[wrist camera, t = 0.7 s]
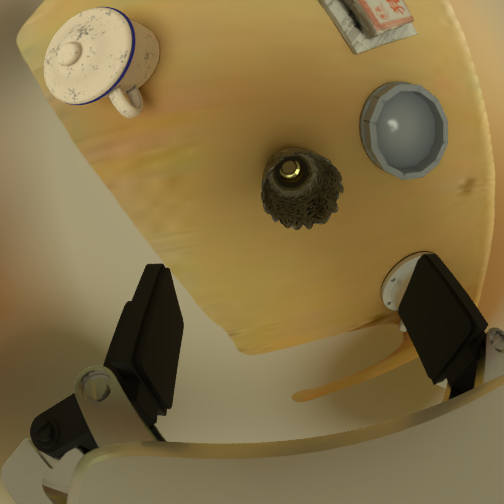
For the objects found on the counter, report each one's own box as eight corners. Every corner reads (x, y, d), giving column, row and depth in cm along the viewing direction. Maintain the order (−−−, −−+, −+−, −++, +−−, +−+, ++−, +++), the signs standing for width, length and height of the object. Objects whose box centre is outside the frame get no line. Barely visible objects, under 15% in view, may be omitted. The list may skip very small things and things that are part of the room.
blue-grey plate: (436, 169, 30) (447, 175, 28) (363, 178, 31) (371, 186, 29) (434, 84, 23) (446, 86, 21) (353, 81, 24) (362, 82, 22)
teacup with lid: (78, 55, 19) (12, 56, 10) (142, 8, 18) (94, -22, 8) (120, 131, 26) (65, 162, 16) (189, 89, 24) (158, 92, 14)
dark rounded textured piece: (263, 129, 27) (271, 144, 21) (327, 143, 28) (354, 164, 22) (250, 191, 31) (254, 224, 25) (310, 201, 32) (329, 236, 26)
